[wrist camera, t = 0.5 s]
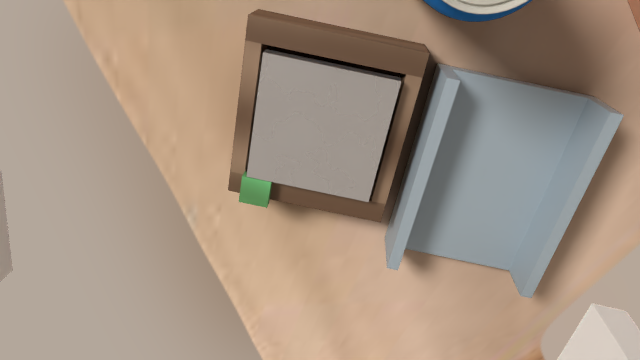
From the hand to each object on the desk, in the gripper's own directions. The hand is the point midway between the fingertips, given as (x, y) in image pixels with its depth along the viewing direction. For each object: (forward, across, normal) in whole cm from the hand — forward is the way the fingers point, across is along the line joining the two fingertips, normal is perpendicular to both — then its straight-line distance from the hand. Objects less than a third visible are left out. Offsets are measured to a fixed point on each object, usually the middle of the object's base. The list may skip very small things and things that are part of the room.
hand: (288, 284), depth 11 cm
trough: (+23, +12, -6) cm, 27 cm away
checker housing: (+23, 0, -4) cm, 24 cm away
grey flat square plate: (+20, 0, -4) cm, 21 cm away
